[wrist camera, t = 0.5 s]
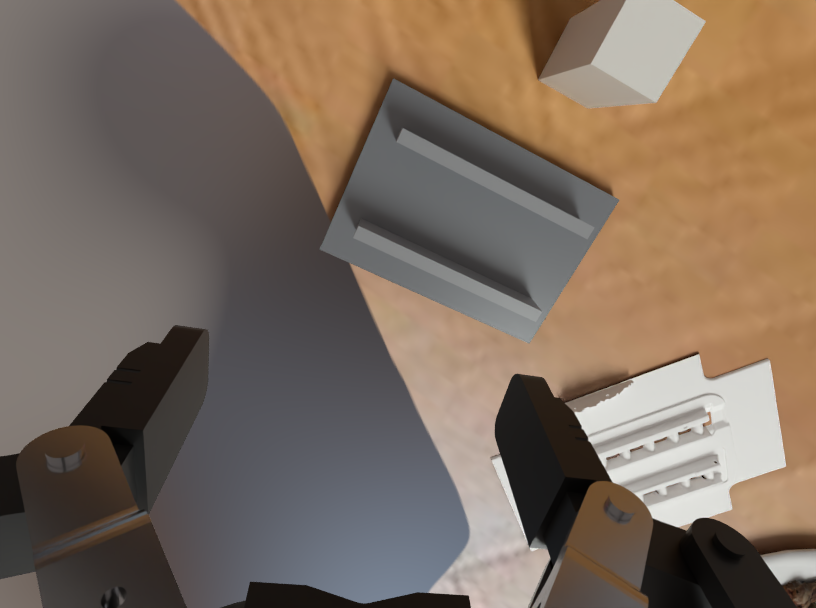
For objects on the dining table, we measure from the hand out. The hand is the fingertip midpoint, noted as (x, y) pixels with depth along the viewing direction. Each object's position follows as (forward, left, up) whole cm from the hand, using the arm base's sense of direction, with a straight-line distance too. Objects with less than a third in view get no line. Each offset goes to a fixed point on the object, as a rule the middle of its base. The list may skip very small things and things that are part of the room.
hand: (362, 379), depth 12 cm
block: (-16, +9, -28) cm, 33 cm away
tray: (+12, +35, -29) cm, 47 cm away
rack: (-2, +7, -28) cm, 29 cm away
